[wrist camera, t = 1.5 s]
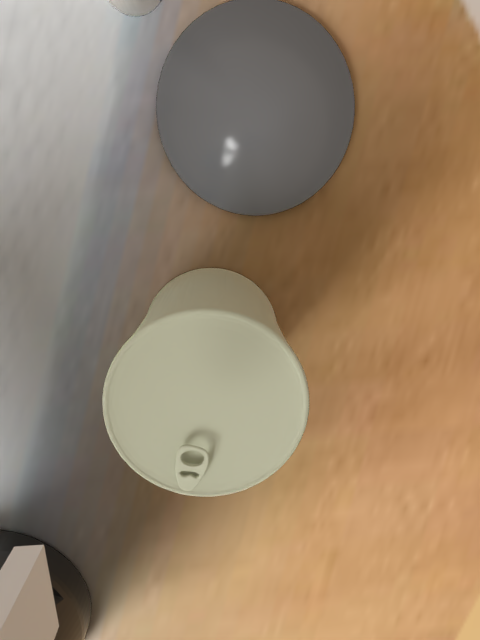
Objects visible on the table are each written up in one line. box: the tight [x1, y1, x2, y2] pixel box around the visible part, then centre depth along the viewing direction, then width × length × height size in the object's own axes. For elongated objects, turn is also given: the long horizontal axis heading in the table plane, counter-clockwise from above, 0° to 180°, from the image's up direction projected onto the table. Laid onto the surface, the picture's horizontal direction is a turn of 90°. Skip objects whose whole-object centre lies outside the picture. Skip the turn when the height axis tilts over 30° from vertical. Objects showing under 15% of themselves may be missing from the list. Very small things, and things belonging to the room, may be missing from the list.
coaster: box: [156, 0, 355, 216], centre depth 26 cm, size 12×12×1 cm
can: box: [102, 268, 309, 497], centre depth 24 cm, size 9×9×12 cm
